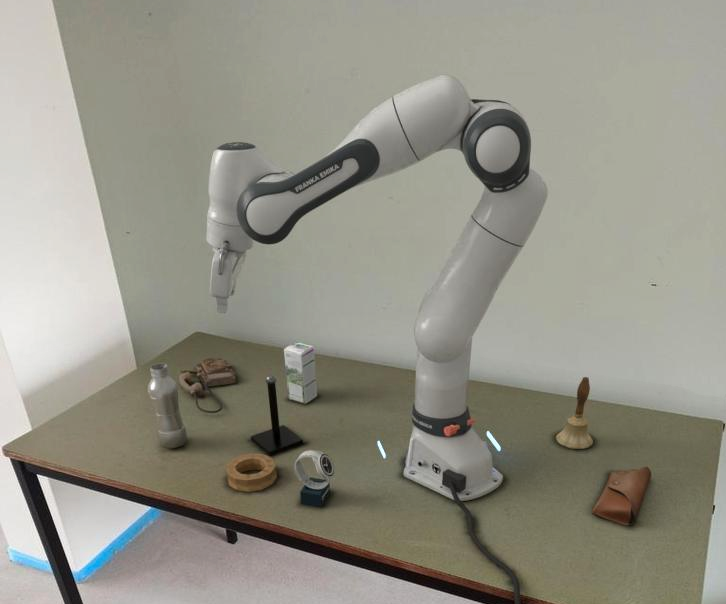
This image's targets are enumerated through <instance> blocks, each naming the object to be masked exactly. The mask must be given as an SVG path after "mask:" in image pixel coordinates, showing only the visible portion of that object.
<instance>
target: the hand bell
mask: <svg viewBox="0 0 726 604" xmlns="http://www.w3.org/2000/svg"><path fill="white" fill-rule="evenodd" d="M590 390H591V385H590V378H589V377H587V376H583V377H582V379H581V381H580V383H579V384H578V386H577V391H576V399H577V401H576V402H577V404H576V408H575V412H574V415H572V416H570V417H568V418H567V421H566V424H565V427H564V428H563V430H562V431H559V432H558V433H557V435H556V437H555V440H556V442H557V443H558V444H559V445H560V446H563V447H565V448H567V449H572V450H583V449H588V448H590V447H591V446H592V445H593V444H594V441H593V438H592V436H591V435H590V434H589V429H588V423H589V422H588V420H587V418H585V417H584V416H583V415H584V409H585V405H586V404H585V403H586V402H587V400H588V398H589V395H590Z"/></svg>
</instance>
